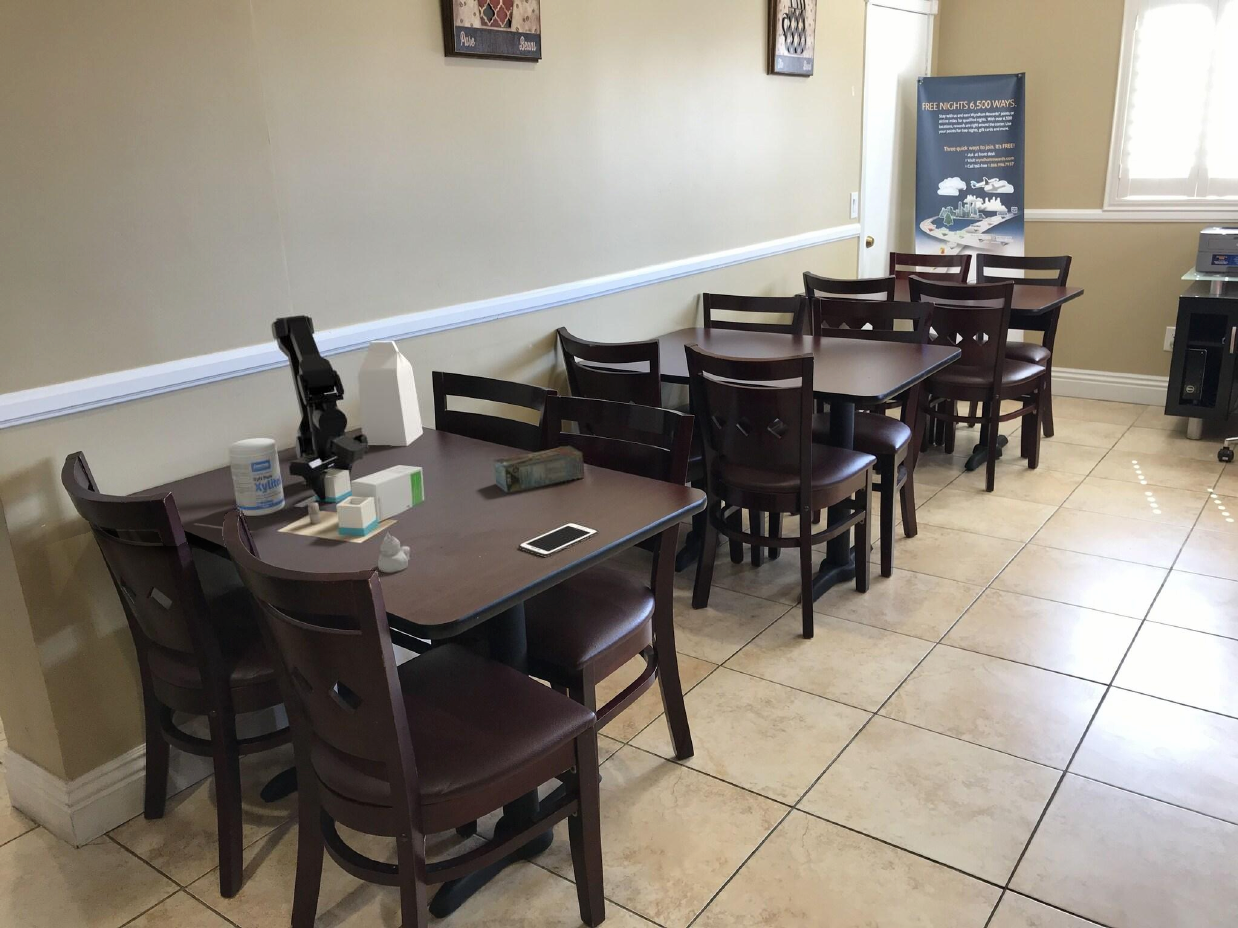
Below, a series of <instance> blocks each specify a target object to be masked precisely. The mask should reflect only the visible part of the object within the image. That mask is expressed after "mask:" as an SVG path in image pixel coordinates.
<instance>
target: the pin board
mask: <svg viewBox="0 0 1238 928" xmlns="http://www.w3.org/2000/svg"><path fill="white" fill-rule="evenodd" d="M307 509H308V510H307V511H308V514H307V515H306V516H304V517H301V518H300V519H298V520H295V521H294V522H292V523H290V524H288V525H286V526H284V527H283V528H280V529H278V530H277V532H279V533H285V534H295V535H301V536H308V537H314V538H323V539H329V540H338V541H342V542H343V541H344V542H351V543H358V544H361V543H363V542H364V541H366V540H368V539H369V538H371V537H373V536H375V535H376V534H378V533H379V532H382V531H383V530H384V529H387V528H389V527H390V526H392V525H393V524H394V523H397V521H398V520H396V519H390V518H388V519H385V520H383V521H380V522H378V525H379V526H377V527H376V528H375V529H373V530H372V531H371V532H370V533H368V534H367V535H366V536H353V535H339V533H338V527H339V522H338V515H337V512H333V511H326V510H325V511H324V510H320V507H319V503H318V502H316V501H314V502H312V503H309V504H308V505H307Z"/></svg>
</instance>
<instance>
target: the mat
mask: <svg viewBox="0 0 1238 928" xmlns="http://www.w3.org/2000/svg"><path fill="white" fill-rule="evenodd" d="M316 501H317V500H315V495H313V496H310V497H309V498H307V499H305V500H302V501H301V502H299V503H297V504H295V505H294V507H299V508H304V507H305V506H308V504H309V503H313V502H316Z"/></svg>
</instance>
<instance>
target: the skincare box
mask: <svg viewBox="0 0 1238 928" xmlns="http://www.w3.org/2000/svg"><path fill="white" fill-rule="evenodd" d="M350 485H351V490H352V495H351V496H357V497H374V505H375V512H376V518H378V522H380V521H383V520H385V519H391V518H393V517H395V516H397V515H399V514H401V513H403V512H405V511H407V510H408V509H410V508H412V507H414V506H416V505H418V504H419V503H422V502H423V501H425V491H424V477H423V467H421V466H412V465H411V466H410V465H401V464H397V465H395V466H391V467H388V468H386V469H383V470H380V471H377V472H375V473H372V474H368V475H366V476H362V477H359V478H357V479H355V480H351V481H350Z"/></svg>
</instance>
